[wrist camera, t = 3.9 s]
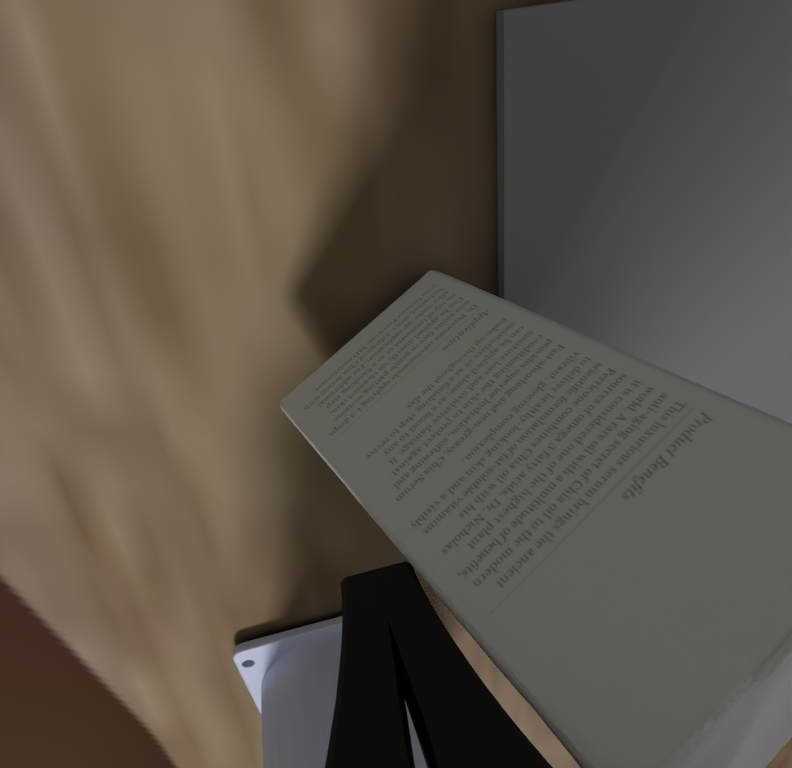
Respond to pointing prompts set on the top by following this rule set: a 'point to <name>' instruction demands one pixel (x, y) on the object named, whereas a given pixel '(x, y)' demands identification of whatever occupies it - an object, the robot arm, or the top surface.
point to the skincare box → (576, 521)
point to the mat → (653, 182)
